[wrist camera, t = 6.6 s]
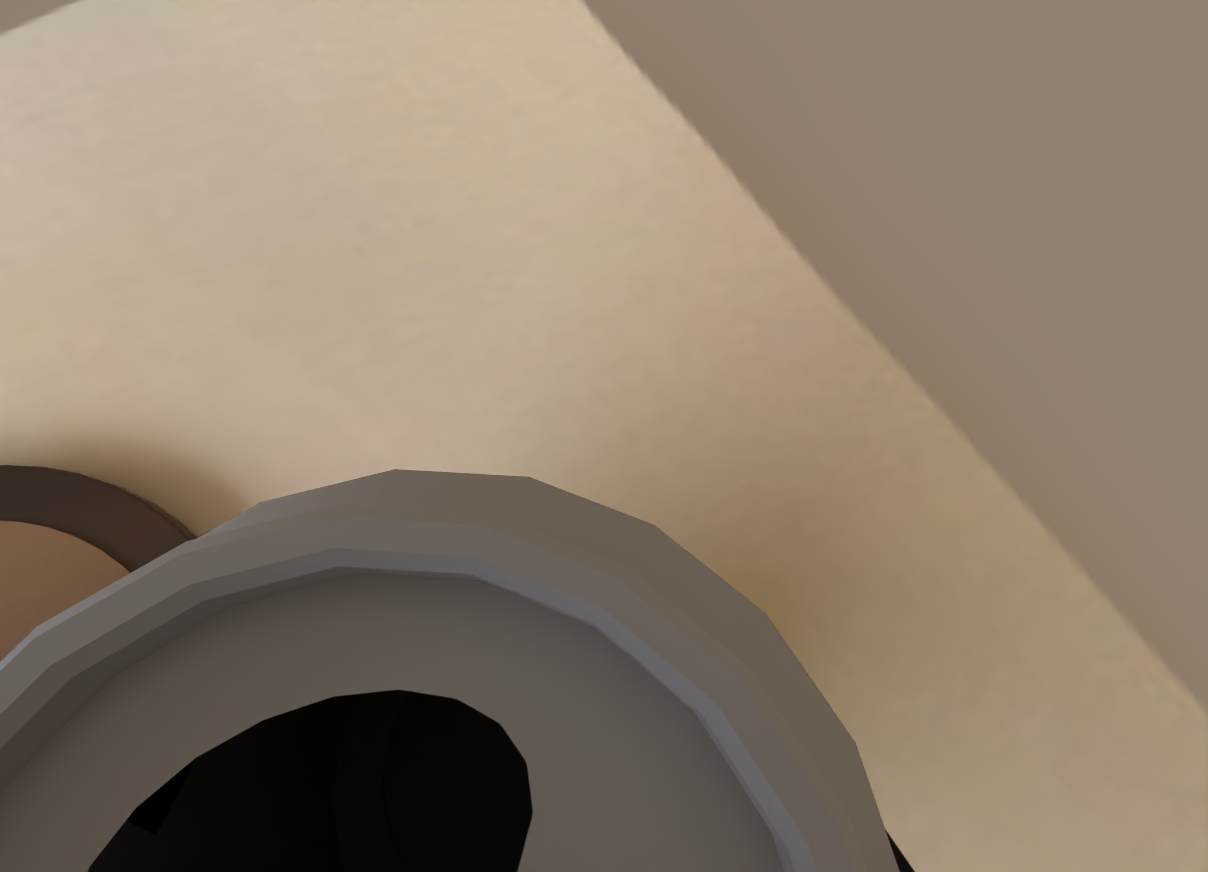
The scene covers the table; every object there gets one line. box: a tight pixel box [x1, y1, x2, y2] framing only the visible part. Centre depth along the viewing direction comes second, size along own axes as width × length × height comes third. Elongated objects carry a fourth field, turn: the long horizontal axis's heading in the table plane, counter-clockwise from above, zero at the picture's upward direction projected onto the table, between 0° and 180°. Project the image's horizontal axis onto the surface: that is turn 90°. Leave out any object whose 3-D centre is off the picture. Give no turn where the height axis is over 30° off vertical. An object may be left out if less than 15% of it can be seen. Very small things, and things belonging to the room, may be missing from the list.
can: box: [0, 469, 900, 872], centre depth 9 cm, size 8×8×12 cm
